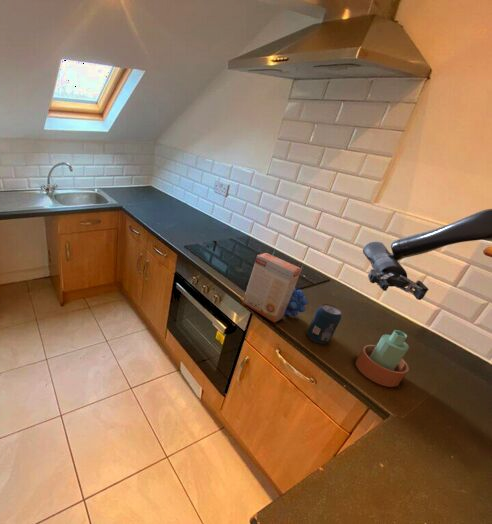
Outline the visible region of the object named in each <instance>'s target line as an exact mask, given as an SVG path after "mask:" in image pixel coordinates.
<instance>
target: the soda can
mask: <svg viewBox="0 0 492 524" xmlns="http://www.w3.org/2000/svg"><path fill="white" fill-rule="evenodd" d="M341 320H342V311H341V309H340V308H338V307H337V306H335V305H332V304H328V303H323V304H321V306H319V307H317V309H316V311H315V313H314V316H313V318H312V320H311V322H310V325H309V327H308V328H307V335H308V337H309V339H310V340H312V341H313V342H315V343H317V344H320V345H322V344H323V345H324V344H327V343H329V342H330V341H331V339H332V337H333V336H334V334H335V332H336V330H337V328H338V326H339V324H340V322H341Z"/></svg>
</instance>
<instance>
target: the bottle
mask: <svg viewBox="0 0 492 524" xmlns="http://www.w3.org/2000/svg"><path fill="white" fill-rule="evenodd" d="M407 339H408V335H407V333H405V332H403V331H402V330H398V329H394V330H393V332H392V333H391V334H383V335H382V336H381V337H380V339H379V341H377V344H375V345H376V347H375V349H374V350H373V352H372V354H371V355H370V357H369V358H370V359H372V360H373V361H374V362H375V363H377V364H378V365H380V366H382V367H384V368H386V369H389V370H392V371H394V369H395V368H396V367H397V365H398V364H399V362H400V361H401V359H403V358H404V356H405V355H406V354H407V352H408V350H409V349H410V346H409V344H408V343H407V342H405V341H406V340H407Z"/></svg>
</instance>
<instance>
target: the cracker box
mask: <svg viewBox="0 0 492 524" xmlns="http://www.w3.org/2000/svg"><path fill="white" fill-rule="evenodd" d="M302 270H303V269H302V267H299V266H297V265H295V264H292V263H290V262H288V261H286V260H283V259H281V258H279V257H277V256H275V255H272V254H270V253H268V252H264V253H260V254H257V255H256V258H255V261H254V264H253V267H252V271H251V274H250V277H249V280H248V284H247V286H246V290H245V293H244V296H243V299H242V304H243V305H245V306H246V307H248V308H250V309H252V310H253V311H255V312H256V313H258V314H259V315H261V316H263V317H264V318H266V319H267V320H269V321H270V322H272V323H277V322H278V321H280V320H283V318H284V316H285V315H284V313H285V311H286V308H287V306H288V303H289V301H290V298H291V296H292V293H293V290H294V288H295V289H296V286H297V283H298V280H299V277H300V276H301V275H300V274H301V272H302Z"/></svg>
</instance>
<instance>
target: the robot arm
mask: <svg viewBox="0 0 492 524" xmlns="http://www.w3.org/2000/svg"><path fill="white" fill-rule="evenodd" d="M474 241H476V242H477V241H487V242H492V208H487V209H483V210H480V211H477V212H475V213H472V214H470V215H468V216H465V217H464V218H461V219H458V220H456V221H454V222H451V223H449V224H446V225H443V226H440V227H437V228H435V229H430V230H427V231H423V232H420V233H416V234H412V235H408V236H405V237H401V238H398V239H395V240H393V241H392V242H391V243H390V249H391V252H390V251H389V249H388V248H387V246H386V245H385V244H384V243H383V242H382V241H378V240H373V241H372V240H371V241H369V242H367V243H366V244H365V245H364V246H363V247H362V254H363V255H364V256H365V257H366V259H367V260H368V262H369V263H370V266H371V267H372V269H371V270H370V271H369V272H368V275H367V277H368V280H369V283H370V284H376V285H377V286H378V287H379V288H380V289H381V290H382V292H383V291H384V292H387V291H388V289H389V287H394V288H397V289H400V290H402V291H404V292H406V293H411V294H412V295H413V296H414V297H415V299H416V300H417V301H422V300H423V299H424V298H425V296H426V294H427V293H428V291H429V287H427V286H426V284H425V283H423V282H422V281H421V280H416V281H413V280H411V279H410V278H408V273H407V271H406V270H405V268H404V267H403V266H402V264H401V263H400V262H399V261H401V260H404V259H407V258H411V257H414V256H420V255H423V254H426V253H430V252H433V251H436V250H438V249H441V248H444V247H448V246H451V245H454V244H460V243H465V242H474Z"/></svg>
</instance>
